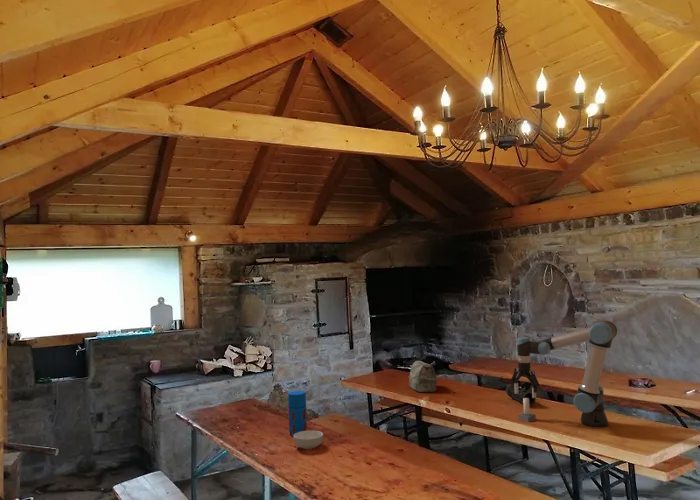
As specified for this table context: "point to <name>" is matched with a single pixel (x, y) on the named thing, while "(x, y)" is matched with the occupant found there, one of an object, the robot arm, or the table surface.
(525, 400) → the plug
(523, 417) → the socket block
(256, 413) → the table surface
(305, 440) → the cereal bowl
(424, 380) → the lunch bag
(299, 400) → the thermos
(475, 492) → the table surface
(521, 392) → the muzzle brake
